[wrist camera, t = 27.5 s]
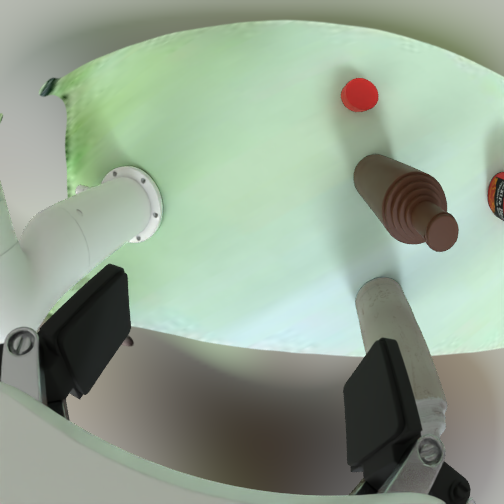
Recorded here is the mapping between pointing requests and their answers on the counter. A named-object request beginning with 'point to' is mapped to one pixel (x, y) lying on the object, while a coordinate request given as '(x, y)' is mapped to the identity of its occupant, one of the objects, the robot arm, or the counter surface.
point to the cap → (359, 95)
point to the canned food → (497, 195)
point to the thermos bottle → (403, 346)
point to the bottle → (406, 202)
